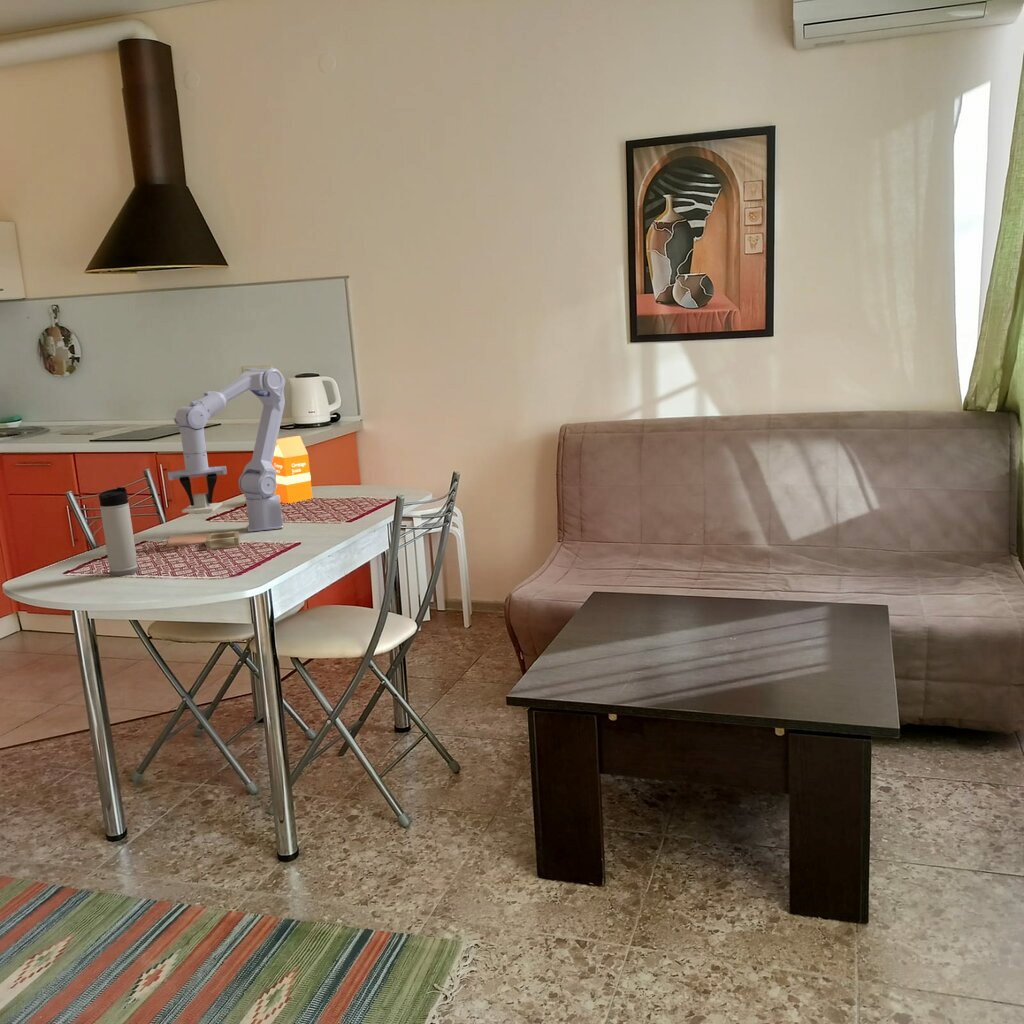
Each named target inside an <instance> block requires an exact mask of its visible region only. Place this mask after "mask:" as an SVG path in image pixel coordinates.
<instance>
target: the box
mask: <svg viewBox="0 0 1024 1024" xmlns="http://www.w3.org/2000/svg"><path fill="white" fill-rule="evenodd" d="M239 533H240V532H239V530H237V531H228V532H218V533H212V534H207V537H206V543H205V547H206V551H211V550H212V551H213V550H221V549H229V548H237V547H238V548H240V534H239Z"/></svg>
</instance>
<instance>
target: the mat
mask: <svg viewBox="0 0 1024 1024" xmlns="http://www.w3.org/2000/svg"><path fill="white" fill-rule="evenodd" d="M207 534H213V532H205V533H204V532H203V533H195V534H185V535H176V536H169V538H168V541H167V543H166V546H165V547H166V548H174V547H176V548H177V547H182V546H193V545H202V544H206V537H207Z"/></svg>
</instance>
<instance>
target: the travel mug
mask: <svg viewBox="0 0 1024 1024" xmlns="http://www.w3.org/2000/svg"><path fill="white" fill-rule="evenodd" d="M128 497H129V496H128V492H127V489H126V487H123V486H121V487H119V486H118V487H116V488H113V489H112V488H111V489H108V490H105V491H104V490H103V491H102V492H100V493H99V494H98V500H99V506H100V507H99V508H100V516H101V521H102V528H103V534H104V541H105V548H106V554H107V555H106V556H107V562H108V567H109V569H108V570H109V574H110V576H112V575H113V577H123V576H128V575H132V574H133V575H134V574H135V573H137V572H138V571H139V565H138V557H137V552H136V551H137V550H136V545H135V538H134V532H133V531H134V530H133V523H132V518H131V517H132V515H131V510H130V504H129V499H128Z"/></svg>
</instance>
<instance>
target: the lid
mask: <svg viewBox="0 0 1024 1024" xmlns="http://www.w3.org/2000/svg"><path fill="white" fill-rule="evenodd" d="M192 497H193V501H194V506H191V504H190V505H189V506H187V507H185V508H183V509H182V510H181V513H182V514H184V513H185V514H186V513H188V515H202V514H203V515H204V514H211V513H213V511H215V510H216V509H218V508H220V507H221V506H222V505H223V503H222V502H212V504H209V498H208V492H207V493H205V492H203V493H195V494H194V495H192Z"/></svg>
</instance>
